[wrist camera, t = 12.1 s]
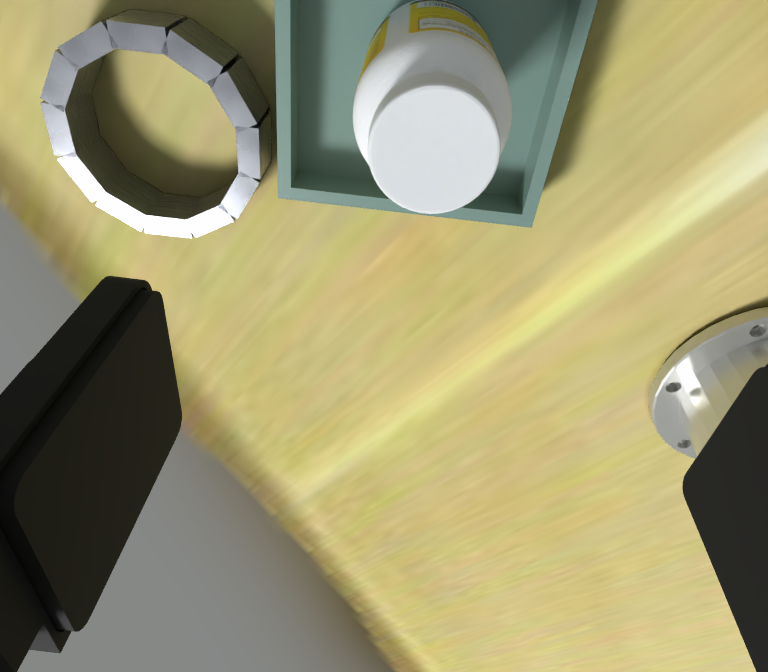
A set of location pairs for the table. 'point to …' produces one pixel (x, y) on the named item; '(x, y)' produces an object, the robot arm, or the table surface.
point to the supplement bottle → (431, 107)
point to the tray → (341, 76)
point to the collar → (100, 165)
